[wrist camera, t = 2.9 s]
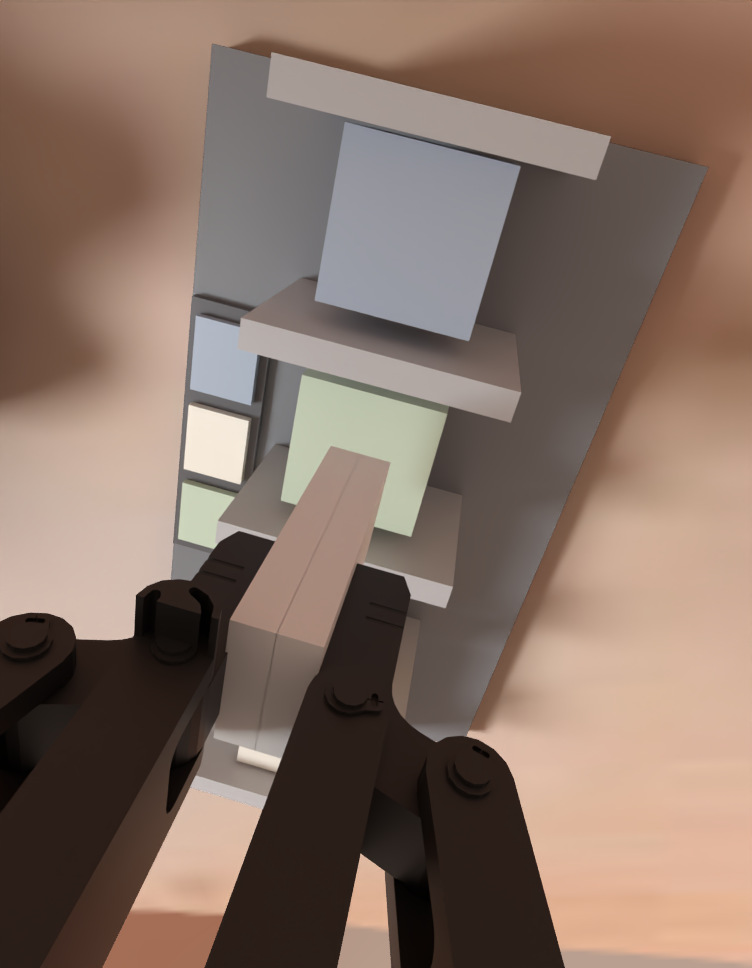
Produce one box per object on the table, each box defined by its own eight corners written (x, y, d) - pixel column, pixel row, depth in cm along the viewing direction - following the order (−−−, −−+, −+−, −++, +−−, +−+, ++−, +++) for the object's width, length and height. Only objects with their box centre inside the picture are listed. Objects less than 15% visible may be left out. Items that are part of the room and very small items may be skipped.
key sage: (300, 468, 21) (280, 500, 19) (321, 351, 19) (301, 374, 17) (419, 501, 21) (411, 536, 19) (452, 386, 19) (447, 414, 17)
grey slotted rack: (174, 646, 30) (100, 761, 25) (225, 48, 19) (107, 5, 13) (461, 730, 30) (453, 868, 24) (698, 166, 18) (789, 174, 12)
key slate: (333, 284, 18) (314, 300, 16) (362, 124, 16) (344, 121, 14) (471, 320, 18) (469, 341, 16) (517, 164, 16) (520, 166, 14)
